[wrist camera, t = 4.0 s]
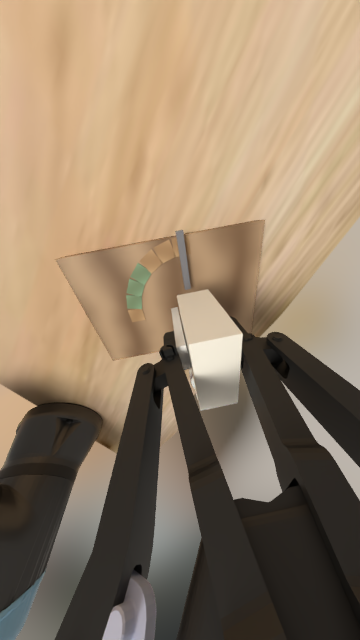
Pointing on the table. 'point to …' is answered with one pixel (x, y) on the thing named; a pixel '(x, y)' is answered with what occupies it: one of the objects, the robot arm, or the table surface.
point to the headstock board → (164, 283)
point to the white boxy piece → (209, 342)
